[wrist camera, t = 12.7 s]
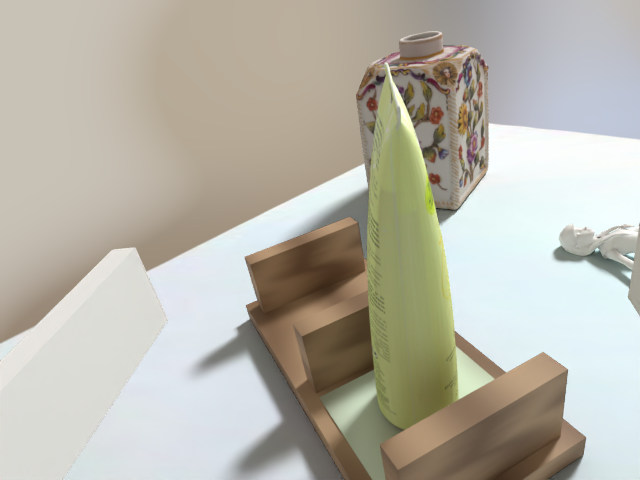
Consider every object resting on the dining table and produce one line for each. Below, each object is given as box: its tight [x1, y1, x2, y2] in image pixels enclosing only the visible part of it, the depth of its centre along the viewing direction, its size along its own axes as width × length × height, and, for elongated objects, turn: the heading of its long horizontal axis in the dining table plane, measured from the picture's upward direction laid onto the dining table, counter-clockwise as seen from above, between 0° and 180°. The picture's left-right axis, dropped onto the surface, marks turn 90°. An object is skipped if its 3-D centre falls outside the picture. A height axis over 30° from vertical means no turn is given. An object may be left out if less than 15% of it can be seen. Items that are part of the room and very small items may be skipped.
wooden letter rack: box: [245, 217, 586, 480], centre depth 32 cm, size 12×24×6 cm, turn 25°
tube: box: [367, 62, 459, 430], centre depth 24 cm, size 6×5×20 cm
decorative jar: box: [356, 31, 489, 210], centre depth 55 cm, size 12×12×18 cm
